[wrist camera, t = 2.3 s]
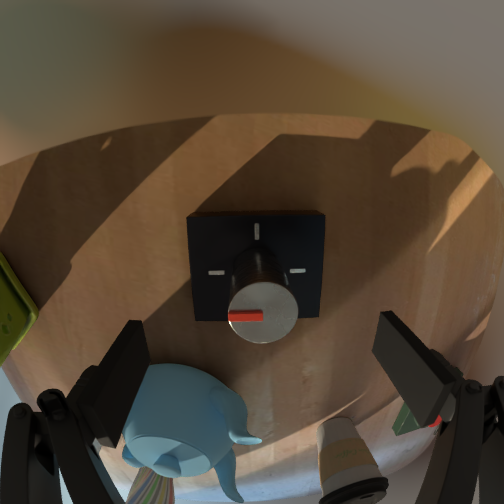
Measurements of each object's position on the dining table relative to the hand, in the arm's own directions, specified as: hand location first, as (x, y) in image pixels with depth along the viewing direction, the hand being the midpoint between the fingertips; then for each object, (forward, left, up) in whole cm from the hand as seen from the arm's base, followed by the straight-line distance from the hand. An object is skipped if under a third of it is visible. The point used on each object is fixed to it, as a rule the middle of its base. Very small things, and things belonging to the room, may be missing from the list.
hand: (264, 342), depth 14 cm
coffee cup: (-12, +28, -14) cm, 34 cm away
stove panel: (0, 0, -14) cm, 14 cm away
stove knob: (0, 0, -11) cm, 11 cm away
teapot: (+9, +19, -14) cm, 25 cm away
